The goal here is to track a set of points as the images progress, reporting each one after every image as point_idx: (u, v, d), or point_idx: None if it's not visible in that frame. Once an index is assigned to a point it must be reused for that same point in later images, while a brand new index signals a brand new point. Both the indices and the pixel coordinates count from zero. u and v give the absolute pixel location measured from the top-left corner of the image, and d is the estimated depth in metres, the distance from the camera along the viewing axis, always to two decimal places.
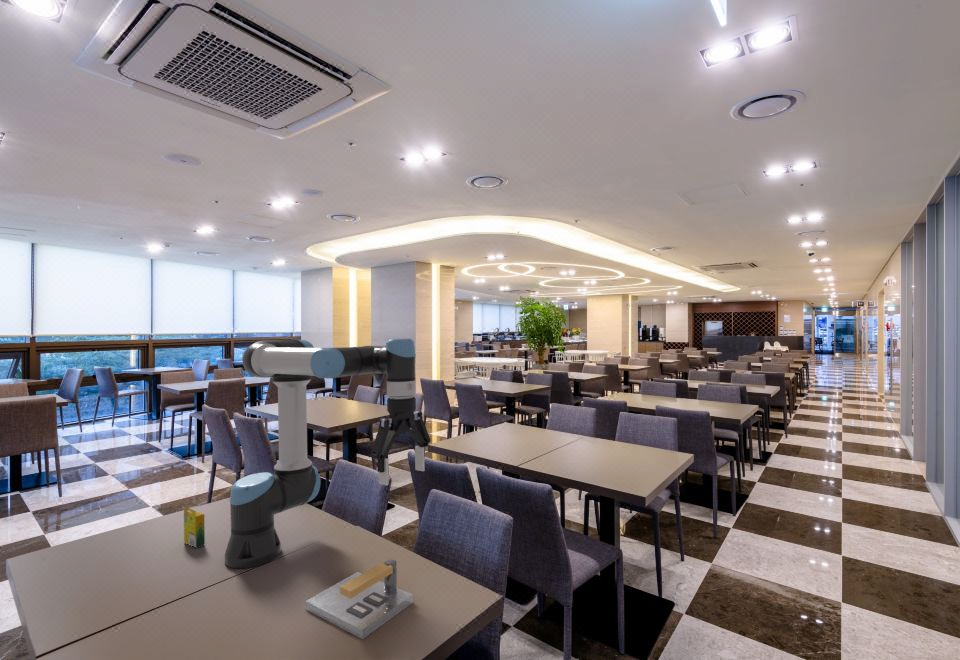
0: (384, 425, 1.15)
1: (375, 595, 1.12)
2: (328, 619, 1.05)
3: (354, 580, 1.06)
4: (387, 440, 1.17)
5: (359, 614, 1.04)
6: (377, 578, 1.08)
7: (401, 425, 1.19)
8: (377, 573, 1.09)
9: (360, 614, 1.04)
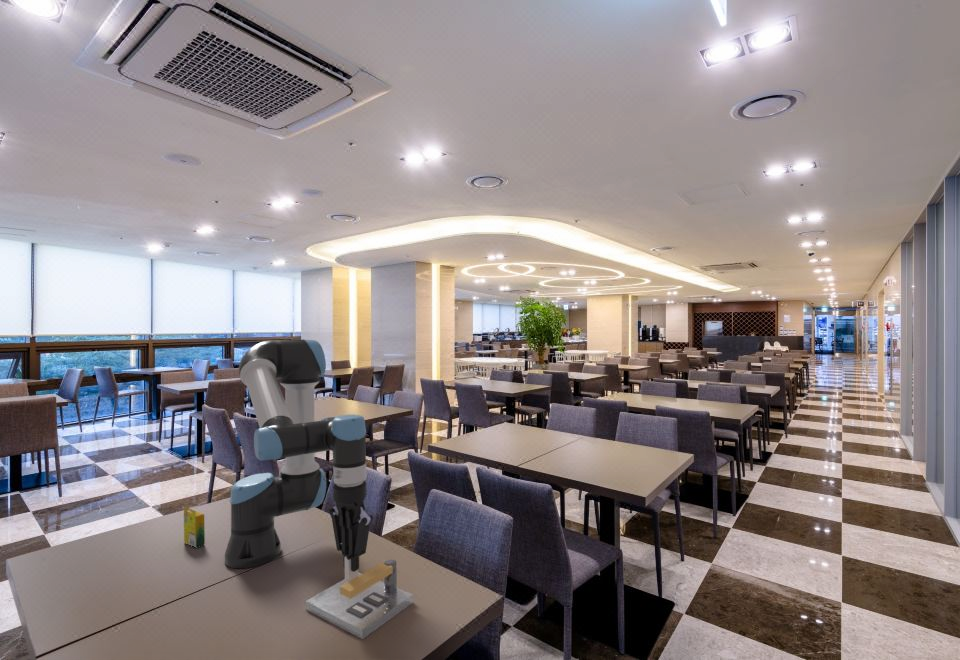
0: None
1: (375, 595, 1.12)
2: (328, 619, 1.05)
3: (354, 580, 1.06)
4: None
5: (359, 614, 1.04)
6: (377, 578, 1.08)
7: (340, 515, 1.07)
8: (377, 573, 1.09)
9: (360, 614, 1.04)
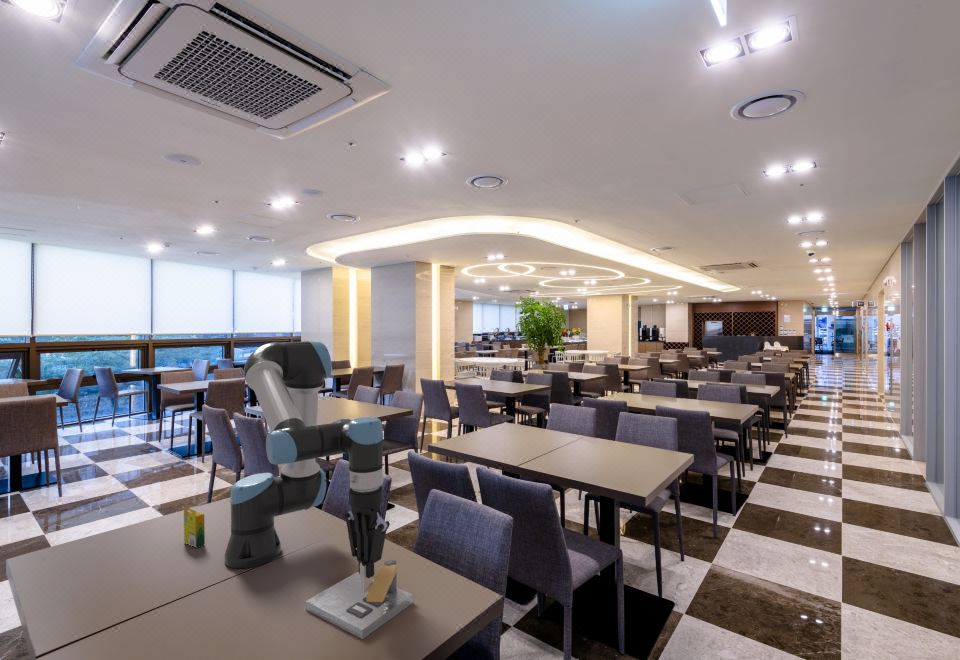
0: None
1: None
2: (328, 619, 1.05)
3: (374, 585, 1.04)
4: None
5: (359, 614, 1.04)
6: (391, 578, 1.08)
7: (355, 520, 1.04)
8: (389, 573, 1.09)
9: (360, 614, 1.04)
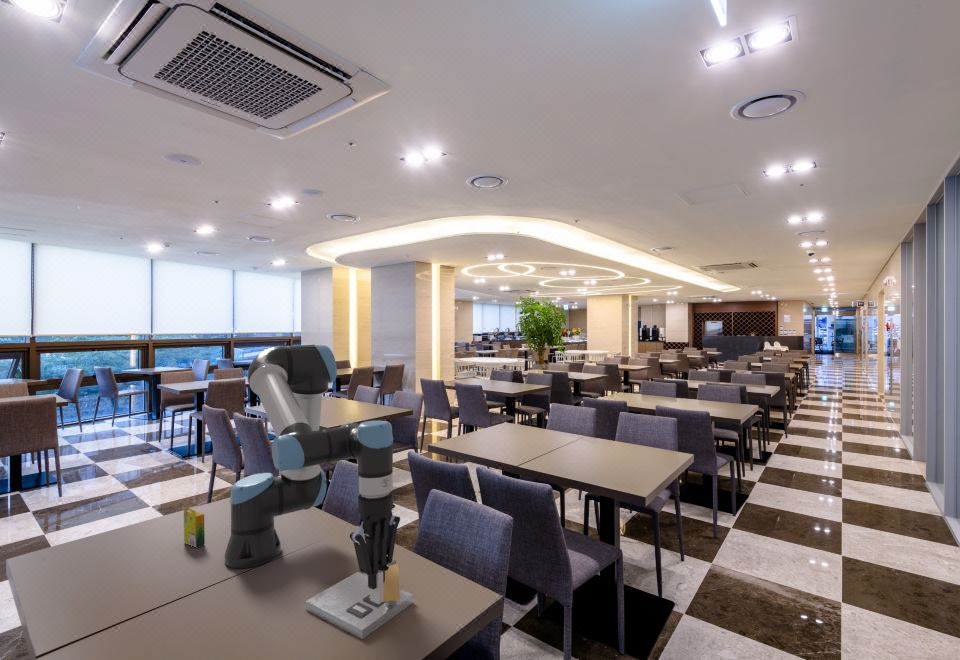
0: (358, 542, 0.96)
1: None
2: (328, 619, 1.05)
3: (386, 585, 1.04)
4: (370, 552, 0.99)
5: (359, 614, 1.04)
6: None
7: (376, 530, 0.99)
8: (395, 572, 1.09)
9: (360, 614, 1.04)
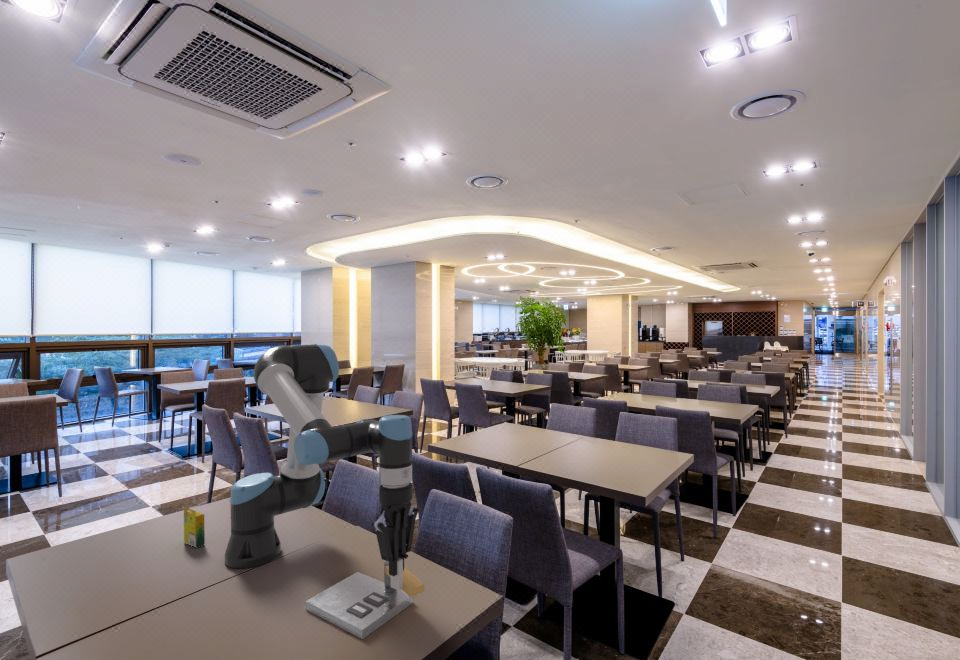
0: (380, 530, 1.00)
1: (375, 595, 1.12)
2: (328, 619, 1.05)
3: (405, 581, 1.05)
4: (391, 540, 1.04)
5: (359, 614, 1.04)
6: None
7: (397, 519, 1.03)
8: (404, 569, 1.11)
9: (360, 614, 1.04)
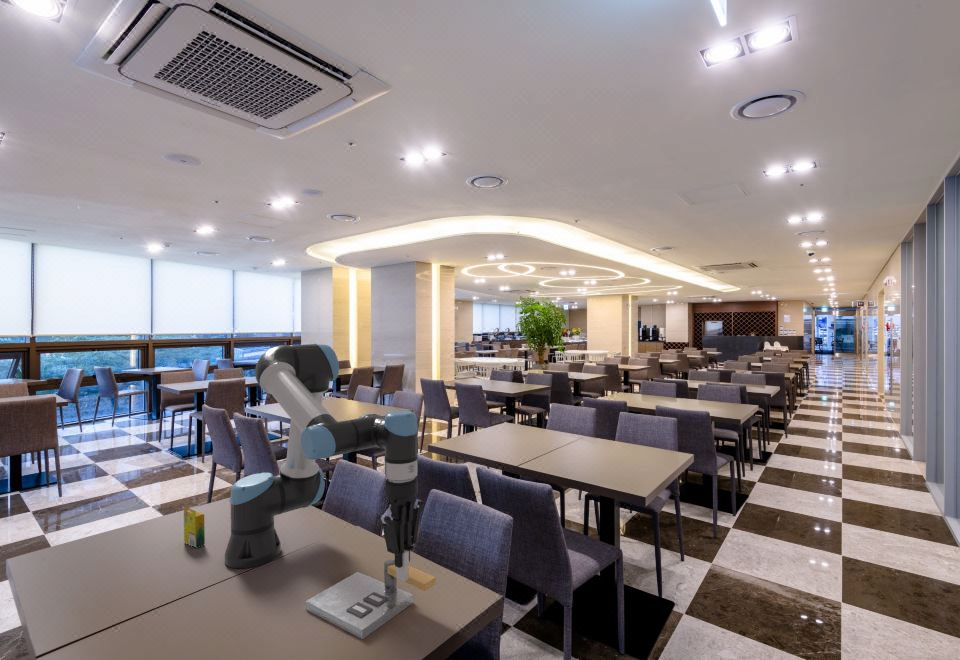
0: (386, 523, 1.03)
1: (375, 595, 1.12)
2: (328, 619, 1.05)
3: (416, 577, 1.07)
4: (397, 533, 1.06)
5: (359, 614, 1.04)
6: None
7: (403, 513, 1.05)
8: None
9: (360, 614, 1.04)
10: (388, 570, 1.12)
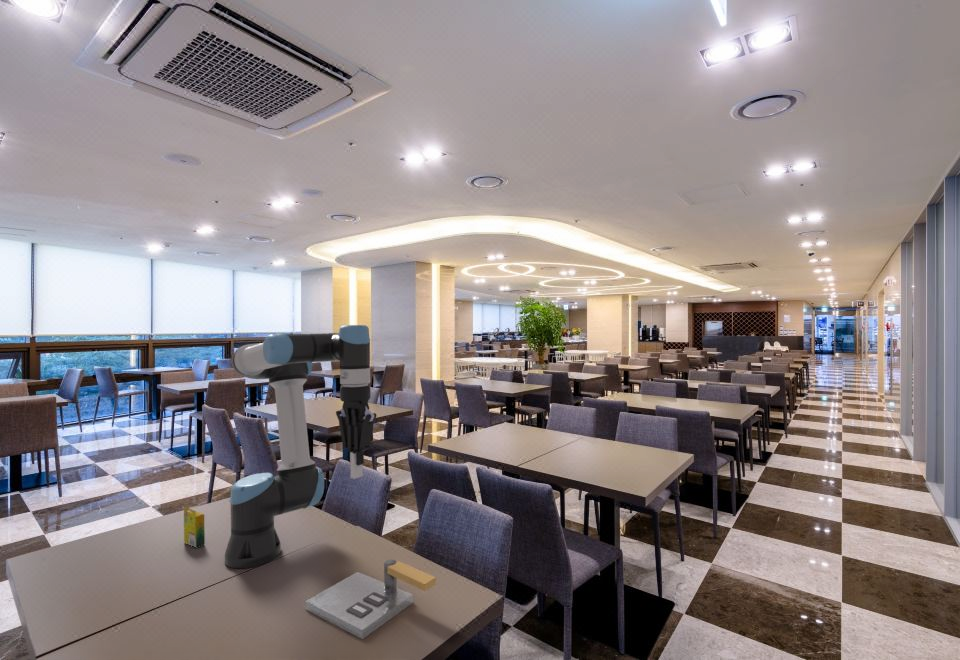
0: None
1: (375, 595, 1.12)
2: (328, 619, 1.05)
3: (416, 577, 1.07)
4: None
5: (359, 614, 1.04)
6: None
7: (346, 414, 1.17)
8: (408, 567, 1.12)
9: (360, 614, 1.04)
10: (388, 570, 1.12)
